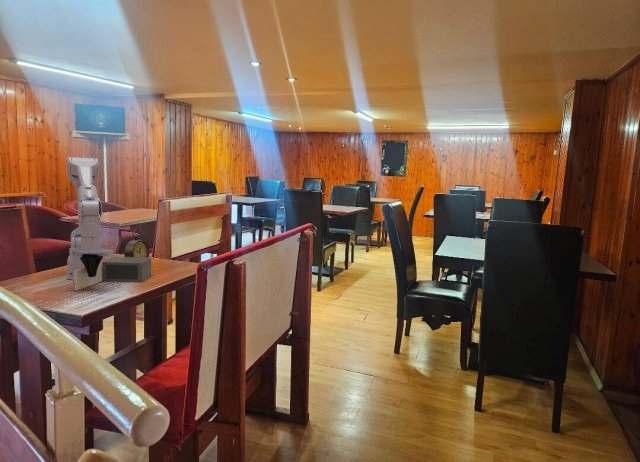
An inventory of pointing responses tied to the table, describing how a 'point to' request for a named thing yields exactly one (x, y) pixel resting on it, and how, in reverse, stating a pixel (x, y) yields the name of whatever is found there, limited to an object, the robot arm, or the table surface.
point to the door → (83, 279)
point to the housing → (126, 269)
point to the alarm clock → (136, 248)
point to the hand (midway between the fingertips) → (92, 276)
